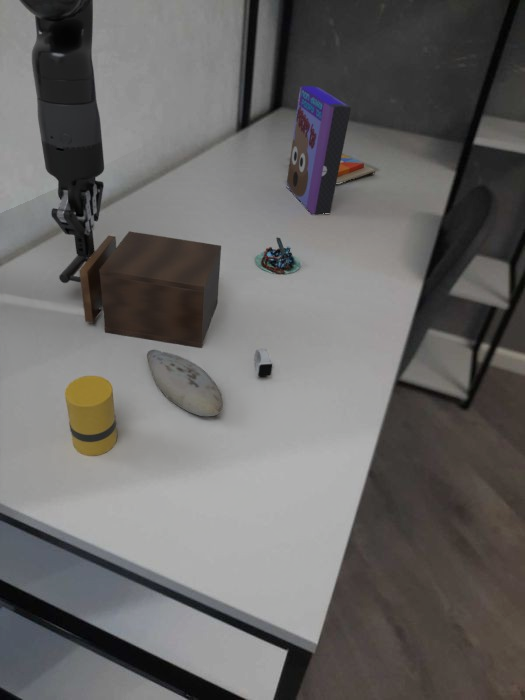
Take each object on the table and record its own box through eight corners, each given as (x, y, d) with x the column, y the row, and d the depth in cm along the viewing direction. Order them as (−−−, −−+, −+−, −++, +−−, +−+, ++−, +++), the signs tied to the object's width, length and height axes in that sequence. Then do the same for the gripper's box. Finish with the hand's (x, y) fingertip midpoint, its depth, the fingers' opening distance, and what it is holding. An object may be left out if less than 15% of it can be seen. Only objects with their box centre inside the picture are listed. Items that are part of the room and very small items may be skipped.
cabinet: (105, 332, 78) (99, 269, 72) (132, 289, 89) (129, 231, 82) (201, 348, 78) (204, 286, 71) (217, 303, 88) (221, 245, 82)
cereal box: (286, 186, 135) (300, 85, 120) (303, 186, 137) (319, 86, 122) (311, 214, 122) (330, 105, 108) (329, 214, 124) (351, 106, 109)
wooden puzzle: (287, 165, 148) (289, 153, 146) (331, 157, 159) (333, 145, 157) (333, 186, 139) (335, 173, 137) (376, 175, 150) (379, 163, 148)
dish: (310, 258, 99) (281, 233, 97) (288, 288, 99) (258, 263, 97) (296, 257, 107) (268, 234, 104) (275, 285, 107) (247, 262, 104)
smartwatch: (251, 365, 76) (254, 343, 74) (265, 364, 77) (268, 342, 74) (256, 381, 73) (259, 360, 71) (271, 380, 74) (275, 359, 72)
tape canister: (65, 452, 60) (56, 402, 55) (82, 421, 64) (75, 371, 59) (108, 459, 60) (103, 410, 55) (123, 428, 64) (119, 379, 59)
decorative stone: (166, 353, 76) (166, 334, 74) (238, 411, 68) (240, 392, 66) (130, 369, 73) (129, 350, 70) (202, 433, 65) (203, 413, 63)
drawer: (57, 317, 79) (48, 265, 73) (86, 279, 88) (81, 230, 82) (173, 336, 78) (174, 285, 73) (191, 296, 87) (192, 248, 82)
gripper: (64, 118, 73) (79, 232, 84) (18, 145, 62) (41, 272, 73) (117, 126, 73) (124, 239, 83) (79, 154, 62) (93, 280, 73)
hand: (85, 254), depth 78 cm, fingers closed
